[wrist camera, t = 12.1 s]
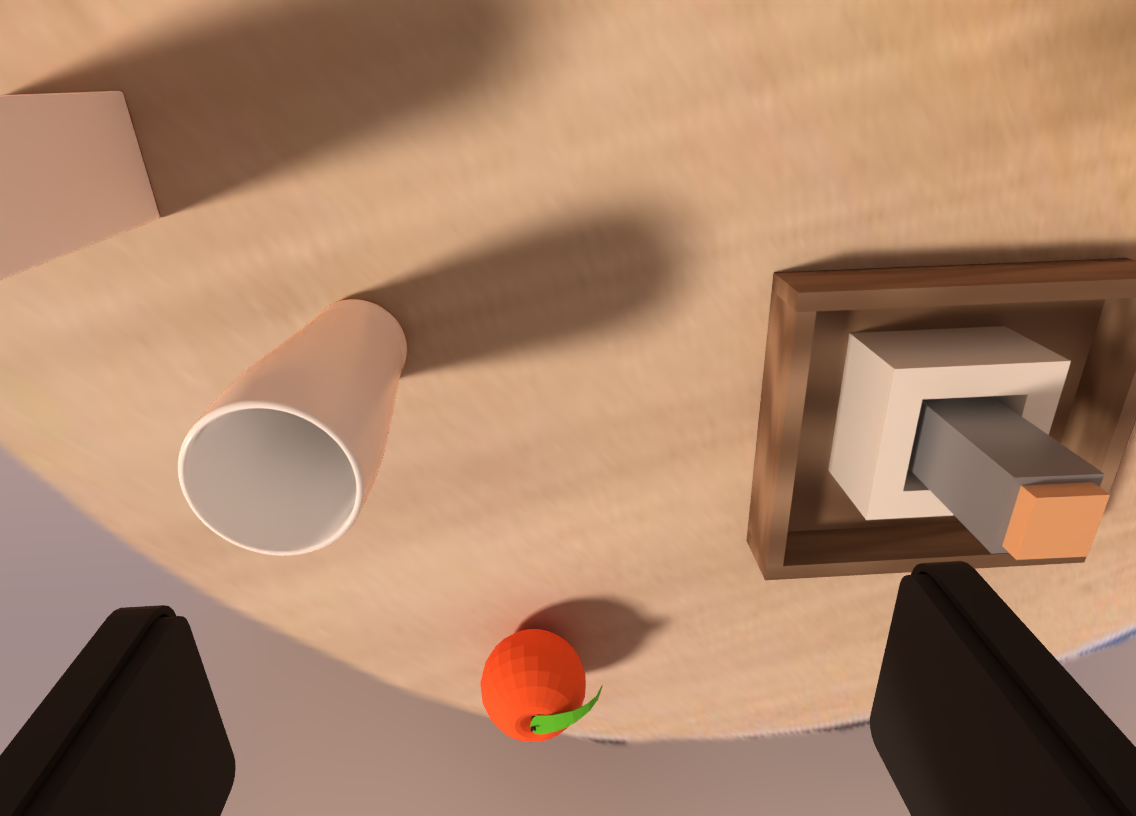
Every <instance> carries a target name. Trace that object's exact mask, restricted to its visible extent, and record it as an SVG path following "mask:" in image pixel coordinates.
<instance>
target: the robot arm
mask: <svg viewBox="0 0 1136 816" xmlns="http://www.w3.org/2000/svg"><path fill="white" fill-rule="evenodd" d="M870 729H871V734H872V738H873V741H874V744H875V746H876V748H877V750H878V752H879V754H880V756H881V758H882V760H883V762H884V764H885V766H886V768H887V770H888V772H889V774H890V775H891V777H892V779H893V781H894V783H895V785H896V787H897V789H898V791H899V793H900V795H901V797H902V799H903V801H904V803H905V804H906V806H907V808H908V810H909V812H910V814H911V816H1136V747H1135V746H1134V745H1133V744H1132V743H1131V741H1130V740H1129V739H1128V738H1127V737H1126V736H1125V735H1124V734H1123V733H1122V731H1121V730H1120V729H1119V728H1118V727H1117V726H1116V725H1115V724H1114V723H1113V722H1112V721H1111V719H1110V718H1109V717H1108V716H1107V715H1106V714H1105V713H1104V712H1103V710H1102V709H1101V708H1100V707H1099V706H1098V705H1097V704H1096V703H1095V702H1094V701H1093V699H1092V698H1091V697H1090V696H1089V695H1088V694H1087V693H1086V692H1085V691H1084V690H1083V688H1082V687H1081V686H1080V685H1079V684H1078V683H1077V682H1076V681H1075V680H1074V678H1073V677H1072V676H1071V675H1070V674H1069V673H1068V672H1067V671H1066V670H1065V668H1064V667H1063V666H1062V665H1061V664H1060V663H1059V662H1058V661H1057V660H1056V659H1055V657H1054V656H1053V655H1052V654H1051V653H1050V652H1049V651H1048V650H1047V649H1046V647H1045V646H1044V645H1043V644H1042V643H1041V642H1040V641H1039V640H1038V639H1037V638H1036V636H1035V635H1034V634H1033V633H1032V632H1031V631H1030V630H1029V629H1028V628H1027V626H1026V625H1025V624H1024V623H1023V622H1022V621H1021V620H1020V619H1019V618H1018V617H1017V615H1016V614H1015V613H1014V612H1013V611H1012V610H1011V609H1010V608H1009V607H1008V605H1007V604H1006V603H1005V602H1004V601H1003V600H1002V599H1001V598H1000V597H999V596H998V594H997V593H996V592H995V591H994V590H993V589H992V588H991V587H990V586H989V584H988V583H987V582H986V581H985V580H984V579H983V578H982V577H981V576H980V575H979V573H978V572H977V571H976V570H975V569H974V568H973V567H972V566H971V565H969V564H968V563H966V562H963V561H951V562H933V563H921V564H917V565H916V566H915V567H914V568H913V571H912V573H911V575H906V576H904V577H903V578H902V580H901V582H900V586H899V590H898V595H897V599H896V604H895V608H894V613H893V617H892V622H891V626H890V630H889V635H888V639H887V644H886V648H885V653H884V657H883V662H882V666H881V671H880V675H879V680H878V684H877V689H876V693H875V698H874V702H873V707H872V711H871V716H870ZM234 777H235V759H234V755H233V751H232V748H231V746H230V743H229V740H228V737H227V734H226V731H225V728H224V725H223V722H222V719H221V716H220V713H219V710H218V707H217V704H216V702H215V699H214V696H213V693H212V690H211V687H210V684H209V681H208V678H207V675H206V672H205V670H204V666H203V663H202V660H201V657H200V655H199V652H198V649H197V646H196V643H195V640H194V637H193V634H192V631H191V628H190V625H189V623H188V621H187V619H186V618H184V617H182V616H176V614H175V612H174V610H173V609H171V608H170V607H169V606H164V605H163V606H145V607H127V608H119V609H117V610H115V611H113V613H111V614H110V616H108V617H107V619H106V620H105V621H104V623H103V624H102V625H101V626H100V628H99V629H98V630H97V632H96V633H95V634H94V636H93V637H92V638H91V640H90V641H89V642H88V643H87V645H86V646H85V647H84V648H83V650H82V651H81V652H80V654H79V655H78V656H77V657H76V659H75V660H74V661H73V663H72V664H71V665H70V666H69V668H68V669H67V670H66V672H65V673H64V674H63V676H62V677H61V678H60V679H59V681H58V682H57V683H56V684H55V686H54V687H53V688H52V690H51V691H50V692H49V694H48V695H47V696H46V697H45V699H44V700H43V701H42V703H41V704H40V705H39V707H38V708H37V709H36V710H35V712H34V713H33V714H32V715H31V717H30V718H29V719H28V721H27V722H26V723H25V724H24V726H23V727H22V728H21V730H20V731H19V732H18V733H17V735H16V736H15V737H14V739H13V740H12V741H11V743H10V744H9V745H8V746H7V748H6V749H5V750H4V752H3V753H2V754H1V755H0V816H220V815H221V813H222V810H223V808H224V806H225V803H226V801H227V798H228V796H229V794H230V791H231V788H232V785H233V781H234Z"/></svg>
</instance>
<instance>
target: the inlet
mask: <svg viewBox="0 0 1136 816" xmlns="http://www.w3.org/2000/svg"><path fill="white" fill-rule="evenodd" d="M1070 363H1071V361H1070V360H1068V359H1066V358H1064V357H1062V356H1061V355H1059V354H1057V353H1055V352H1053V351H1051V350H1049V349H1047V348H1045V347H1043V346H1041V345H1040V344H1038V343H1036V342H1034V341H1032V340H1030V339H1028V338H1026V337H1024V336H1022V335H1021V334H1019V333H1017V332H1015V331H1013V330H1011V329H1009V328H1007V327H1005V326H996V327H974V328H951V329H928V330H906V331H883V332H860V333H849V339H848V345H847V352H846V358H845V365H844V371H843V378H842V384H841V391H840V397H839V404H838V410H837V417H836V423H835V430H834V436H833V443H832V449H831V456H830V462H829V469H828V471H829V472H830V473H831V474H832V476H833V477H834V478H835V480H836V481H837V482H838V484H839V485H840V486H841V488H842V489H843V490H844V492H845V493H846V494H847V495H848V497H849V498H850V499H851V501H852V502H853V503H854V505H855V506H856V507H857V509H858V510H859V511H860V513H861V514H862V515H863V517H864V518H865V519H866V520H877V519H895V518H914V517H933V516H951V515H953V514H952V512H951V511H950V510H949V509H948V508H947V507H946V506H945V505H944V504H943V503H942V502H941V501H940V500H939V499H938V498H937V497H936V496H935V495H934V494H933V493H932V492H931V491H930V490H929V489H928V488H927V487H926V486H925V485H924V484H923V483H922V482H921V480H920V479H919V478H918V477H917V476H916V475H915V474H914V473H913V472H912V471H911V470H910V469H909V468H908V465H909V461H910V456H911V451H912V446H913V442H914V437H915V432H916V427H917V423H918V418H919V413H920V408H921V404H922V399H942V398H963V397H984V396H993V397H994V398H996V399H997V400H998V401H1000V402H1001V403H1003V404H1004V405H1006V406H1007V407H1009V408H1010V409H1012V410H1013V411H1014V412H1016V413H1017V414H1019V415H1020V416H1022V417H1023V418H1025V419H1026V420H1027V421H1029V422H1030V423H1032V424H1033V425H1035V426H1036V427H1038V428H1039V429H1040V430H1042V431H1043V432H1045V433H1046V434H1048V435H1049V432H1050V428H1051V425H1052V422H1053V419H1054V415H1055V412H1056V409H1057V405H1058V402H1059V399H1060V396H1061V392H1062V389H1063V386H1064V382H1065V379H1066V376H1067V373H1068V369H1069V366H1070Z"/></svg>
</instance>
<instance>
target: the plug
mask: <svg viewBox="0 0 1136 816" xmlns="http://www.w3.org/2000/svg"><path fill="white" fill-rule="evenodd" d="M908 468H909V469H910V470H911V471H912V472H913V473H914V474H915V475H916V476H917V477H918V478H919V479H920V480H921V482H922V483H923V484H924V485H925V486H926V487H927V488H928V489H929V490H930V491H931V492H932V493H933V494H934V495H935V496H936V497H937V498H938V499H939V500H940V501H941V502H942V503H943V504H944V505H945V506H946V507H947V508H948V509H949V510H950V511H951V512H952V514H953V515H954V516H955V517H956V518H957V519H958V520H959V521H960V522H961V523H962V524H963V525H964V526H965V527H966V528H967V529H968V530H969V531H970V532H971V533H972V534H973V535H974V536H975V537H976V538H977V539H978V540H979V541H980V542H981V543H982V544H983V545H984V547H985V548H986V549H987V550H988V551H989V552H990V553H991V554H994V553H1010V554H1011V555H1012V556H1013V557H1014V558H1015V559H1016V560H1025V559H1046V558H1068V557H1087V556H1088V553H1089V550H1090V548H1091V545H1092V542H1093V540H1094V537H1095V534H1096V532H1097V529H1098V526H1099V524H1100V521H1101V518H1102V516H1103V513H1104V510H1105V508H1106V505H1107V502H1108V499H1109V497H1110V494H1109V493H1107V492H1106V491H1104V490H1103V489H1102V488H1100V486H1101V483H1102V480H1103V477H1104V475H1105V474H1104V473H1103V472H1101V471H1100V470H1098V469H1097V468H1096V467H1094V466H1093V465H1091V464H1090V463H1088V462H1087V461H1085V460H1084V459H1082V458H1081V457H1080V456H1078V455H1077V454H1075V453H1074V452H1072V451H1071V450H1069V449H1068V448H1067V447H1065V446H1064V445H1062V444H1061V443H1059V442H1058V441H1056V440H1055V439H1054V438H1052V437H1051V436H1049V435H1048V434H1046V433H1045V432H1043V431H1042V430H1040V429H1039V428H1038V427H1036V426H1035V425H1033V424H1032V423H1030V422H1029V421H1027V420H1026V419H1025V418H1023V417H1022V416H1020V415H1019V414H1017V413H1016V412H1014V411H1013V410H1012V409H1010V408H1009V407H1007V406H1006V405H1004V404H1003V403H1001V402H1000V401H998V400H997V399H996V398H994V397H993V396H984V397H963V398H942V399H922V404H921V408H920V413H919V418H918V423H917V427H916V432H915V437H914V442H913V446H912V451H911V456H910V461H909V465H908Z"/></svg>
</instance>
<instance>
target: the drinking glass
mask: <svg viewBox="0 0 1136 816" xmlns="http://www.w3.org/2000/svg"><path fill="white" fill-rule="evenodd" d="M406 357H407V342H406V338H405V335H404V332H403V330H402V328H401V326H400V324H399V323H398V321H397V320H396V319H395V318H394V317H393V316H392V315H391V314H390V313H389V312H388V311H387V310H385V309H384V308H382V307H380V306H379V305H377V304H374V303H372V302H369V301H365V300H359V299H348V300H342V301H338V302H335V303H333V304H330V305H329V306H327V307H325V308H324V309H323V310H321V311H320V312H319V313H318V314H317V315H316V316H315V318H314V319H313V320H312V321H311V322H309V323H308V324H307V325H305V326H304V327H303V328H302V329H300V330H299V331H298V332H296V333H295V334H294V335H292V336H291V337H290V338H288V339H287V340H286V341H284V342H283V343H282V344H280V345H279V346H277V347H276V348H275V349H273V350H272V351H271V352H269V353H268V354H267V355H265V356H264V357H262V358H261V359H260V360H258V361H257V362H256V363H254V364H253V365H252V366H250V367H249V368H248V369H247V370H245V371H244V372H243V373H242V374H241V375H240V376H238V377H237V378H236V379H235V380H234V381H233V382H232V383H231V384H230V385H229V386H228V387H227V388H226V389H225V390H224V391H223V392H222V393H221V394H220V395H219V396H218V397H217V398H216V399H215V400H214V402H213V403H212V404H211V405H210V406H209V407H208V409H207V410H206V411H205V412H204V413H203V415H202V416H201V417H200V418H199V420H198V421H197V422H196V423H195V425H194V426H193V427H192V428H191V429H190V431H189V432H188V434H187V435H186V437H185V439H184V441H183V443H182V446H181V449H180V453H179V458H178V476H179V482H180V485H181V489H182V491H183V494H184V496H185V498H186V500H187V502H188V504H189V506H190V507H191V509H192V510H193V511H194V513H195V514H196V515H197V516H198V518H199V519H200V520H201V521H202V522H203V523H204V524H205V525H206V526H207V527H208V528H210V529H211V530H212V531H213V532H215V533H216V534H217V535H219V536H220V537H222V538H224V539H225V540H227V541H229V542H231V543H233V544H235V545H237V546H239V547H242V548H245V549H247V550H251V551H254V552H258V553H263V554H269V555H282V556H286V555H299V554H304V553H309V552H313V551H316V550H319V549H321V548H324V547H326V546H328V545H330V544H331V543H333V542H335V541H336V540H338V539H339V538H340V537H341V536H343V535H344V534H345V533H346V532H347V531H348V530H349V529H350V527H351V526H352V525H353V524H354V522H355V521H356V519H357V517H358V515H359V513H360V511H361V509H362V507H363V505H364V503H365V501H366V499H367V496H368V494H369V492H370V490H371V488H372V486H373V483H374V481H375V478H376V476H377V473H378V470H379V467H380V464H381V461H382V458H383V455H384V451H385V447H386V443H387V438H388V434H389V429H390V424H391V419H392V413H393V408H394V403H395V398H396V393H397V389H398V384H399V380H400V375H401V372H402V370H403V367H404V365H405V362H406Z"/></svg>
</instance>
